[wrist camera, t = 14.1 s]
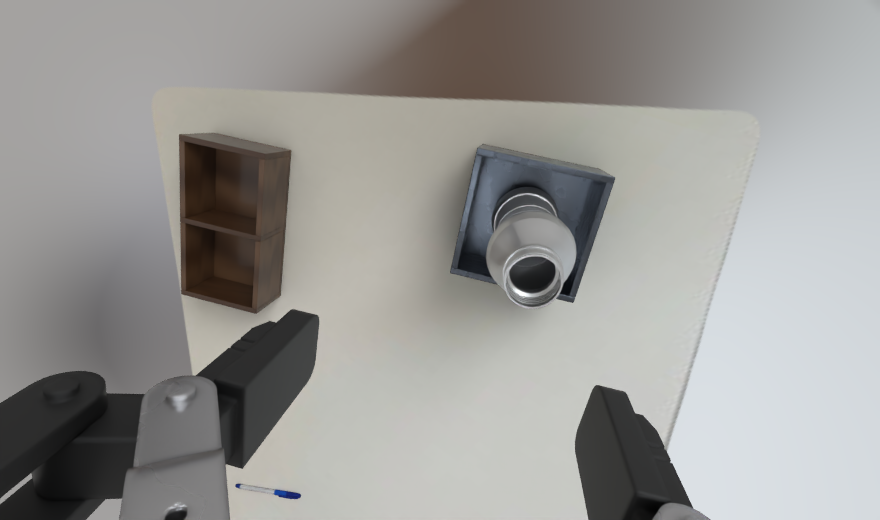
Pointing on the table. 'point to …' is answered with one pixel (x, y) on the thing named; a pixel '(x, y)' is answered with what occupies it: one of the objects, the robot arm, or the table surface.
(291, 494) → the ballpoint pen
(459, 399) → the table surface
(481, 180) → the dark grey open box
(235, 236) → the divided box
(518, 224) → the silver metal bottle
